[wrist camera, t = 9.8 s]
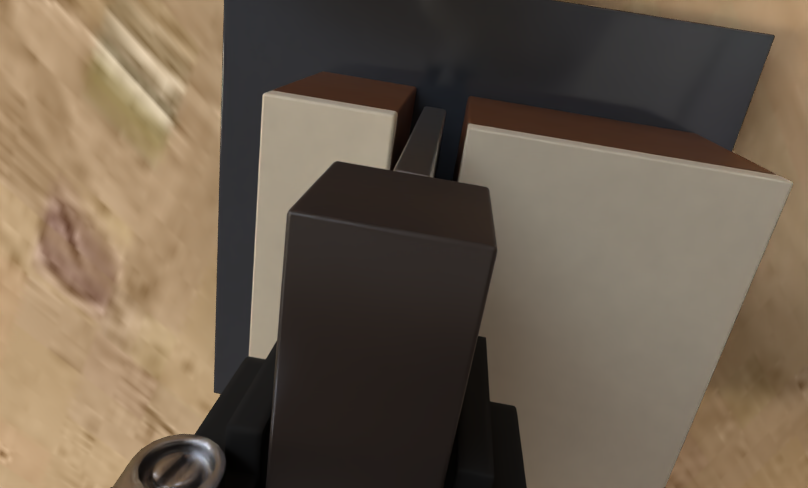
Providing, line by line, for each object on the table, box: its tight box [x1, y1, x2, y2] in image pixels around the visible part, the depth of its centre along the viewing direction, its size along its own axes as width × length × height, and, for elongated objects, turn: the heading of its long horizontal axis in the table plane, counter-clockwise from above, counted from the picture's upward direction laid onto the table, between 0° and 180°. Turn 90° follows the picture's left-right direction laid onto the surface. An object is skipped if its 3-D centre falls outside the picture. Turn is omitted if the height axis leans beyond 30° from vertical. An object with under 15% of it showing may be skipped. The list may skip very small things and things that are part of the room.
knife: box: [266, 106, 498, 488], centre depth 13 cm, size 10×2×10 cm, turn 171°
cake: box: [452, 96, 793, 488], centre depth 17 cm, size 10×7×6 cm
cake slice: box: [249, 71, 416, 359], centre depth 17 cm, size 10×3×6 cm, turn 171°
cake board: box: [214, 0, 775, 394], centre depth 20 cm, size 16×16×1 cm
